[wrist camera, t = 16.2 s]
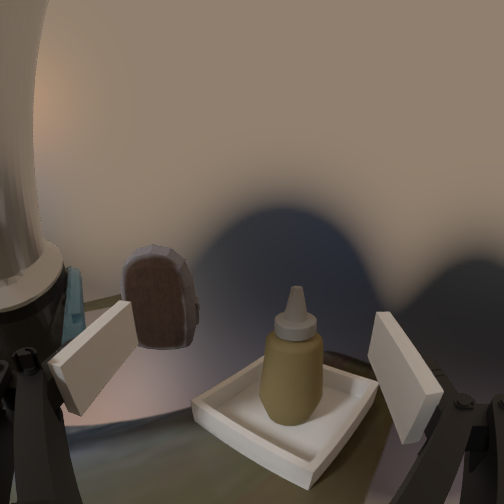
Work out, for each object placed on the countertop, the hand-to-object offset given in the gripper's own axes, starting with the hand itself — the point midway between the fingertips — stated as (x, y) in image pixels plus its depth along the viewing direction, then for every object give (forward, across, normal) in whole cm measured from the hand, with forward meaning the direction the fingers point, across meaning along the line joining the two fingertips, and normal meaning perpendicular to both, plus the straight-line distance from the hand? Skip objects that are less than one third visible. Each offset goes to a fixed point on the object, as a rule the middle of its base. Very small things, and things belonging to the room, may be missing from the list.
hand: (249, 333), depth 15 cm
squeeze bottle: (+15, +4, -22) cm, 27 cm away
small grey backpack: (+34, -20, -24) cm, 46 cm away
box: (+15, +4, -22) cm, 28 cm away
